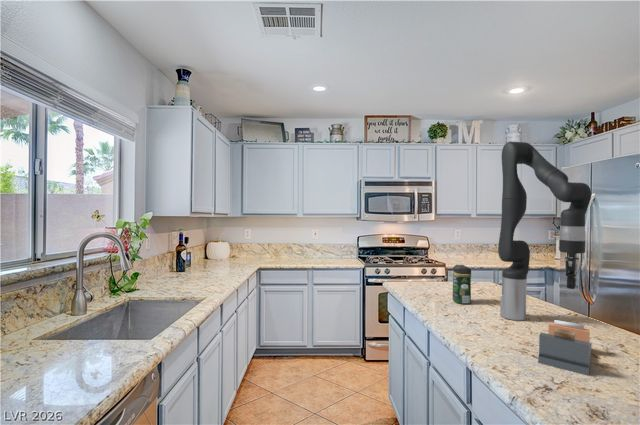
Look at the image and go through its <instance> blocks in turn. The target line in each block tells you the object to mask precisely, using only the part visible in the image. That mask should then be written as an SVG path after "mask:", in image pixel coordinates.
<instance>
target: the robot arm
mask: <svg viewBox="0 0 640 425" xmlns="http://www.w3.org/2000/svg"><path fill="white" fill-rule="evenodd" d="M518 165H526V166H528V167H530V168H532V170H533V171H534V175H535V176H536V178H537V179H538V180H539V182H541V183H542V184H543V185H544V186H546V187H548V188H549V189H550V191H551V193H552V195H553V196H554V197H555V198H556V199H557V200H559V201H560V202H563V203H570V204H569V208H567V209H564V210H562V211H561V212H560V227H559V233H558V234H559V236H558V237H559V238H558V240H559V242H558V251H559V252H561V253H566V254H567V255H566V256H565V257H564V263H565V264H564V270H565V277H566V288H567V289H570V290H574V289H575V288H576V286H577V285H576V284H577V275H578V270H579V262H580V258H579V257H577V254H585V253H586V244H587V243H586V238H587V234H586V232H587V231H586V214H587V211H588V208H589V206H590V202H591V199H592V190H591V188H590V186H589V185H588V184H587V183H584V182H572V181H571V182H570V181H569V177H568V175H567V174H566V173H565V172H563V171H561V170H560V169H559V168H558V167H556V166H554V165H553V164H552V163H551V162H549V161H548V160H547V159H546V158H545V157H544V156H543V155H542V154H541V153H540V152H539V150H537V149H536V148H535V147H534V146H533V145H532V144H531V143H529V142H525V141H524V142H523V141H507V142H506V143H505V144H504V145H503V146H502V149H501V168H502V169H501V170H502V194H501V196H502V197H501V222H500V231H499V238H498V244H497V245H498V246H497V248H498V249H497V251H498V252H497V253H498V257H499V259H500V260H501V261H502V262H505V263H512V264H511V265H510V266H509V267H507V268H504V269H503V270H502V273H501V275H502V276H501V279H502V280H501V293H500V298H499V299H500V306H499V307H500V309H499V313H500V315H499V317H501V318H505V319H508V320H512V321H525V320H526V319H527V277H528V273H529V271H530V259H531V258H530V257H531V252H530V246H529V244H528V243H527V242H526V241H525V240H516V239H515V240H514V235H515V231H516V228H517V227H518V224H519V223H520V222H521V220H522V218H523V217H524V215H525V214H526V210H527V200H528V199H527V192H526V190H525V188H524V185H523V184H522V182H521V180H520V178H519V175H518Z"/></svg>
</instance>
